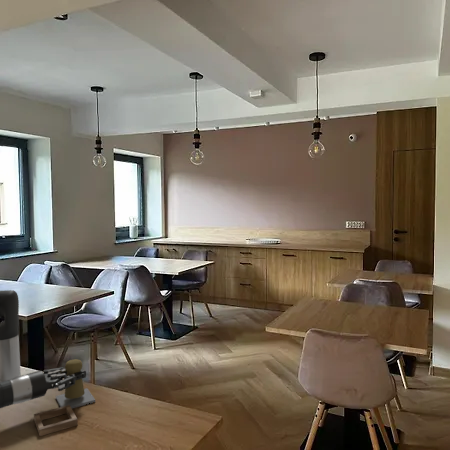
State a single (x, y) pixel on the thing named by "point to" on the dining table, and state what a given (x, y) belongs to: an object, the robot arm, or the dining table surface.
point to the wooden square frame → (56, 426)
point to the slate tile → (75, 400)
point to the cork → (78, 388)
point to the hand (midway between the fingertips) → (82, 371)
